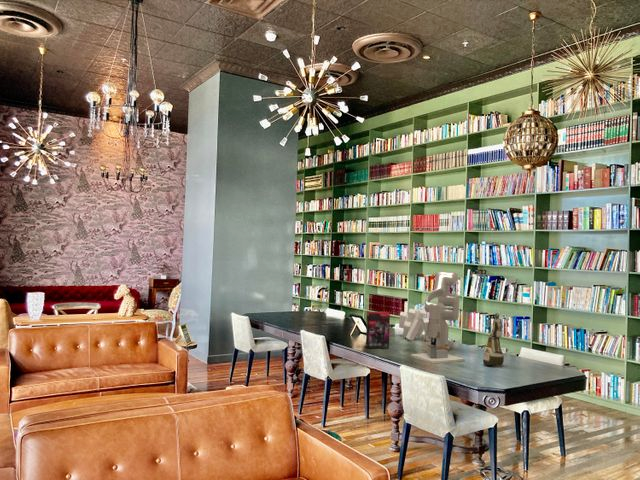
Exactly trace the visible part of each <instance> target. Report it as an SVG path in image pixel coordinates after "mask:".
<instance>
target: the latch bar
mask: <svg viewBox="0 0 640 480" xmlns="http://www.w3.org/2000/svg"><path fill="white" fill-rule="evenodd" d="M449 347H450V346H448V344H445V346H436V349H448V348H449ZM427 348H428V349H430V350H431V347H428V346H427Z"/></svg>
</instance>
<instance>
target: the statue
mask: <svg viewBox="0 0 640 480" xmlns="http://www.w3.org/2000/svg"><path fill="white" fill-rule="evenodd" d="M492 321H493V322H492V325H493V326H492V329H491V332H490V334H489V336H488V338H487V341H486V346H485V348H484V349H483V354H482V362H483V365H484V366H487V367H488V366H492V367H493V366H501V365H503V364H504V359H505V357H504V354H503V351H502V347H501V341H500V338H501V337H502V335H503V333H502V332H503V329H502V328H503V320H502V318H500V314H499V313H498V312H497V313H496V312H495V314H494V319H493V320H492Z"/></svg>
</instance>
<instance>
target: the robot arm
mask: <svg viewBox="0 0 640 480" xmlns="http://www.w3.org/2000/svg"><path fill="white" fill-rule="evenodd" d="M458 278H459V275H458V273H457V272H456V271H443V270H440V271H436V272H435V273H434V285H433V290H431V291H430V292H429V293H428V294H427V296H426V297H425V301H424V306H423V310H425V312H427V313H428V320H429V322H428V325H427V333H426V335H427V336H428V338H430V341H429V342H430V345H434V346H445V344H448V346H449V348H448V351H449V350H450V349H451V347H452V346H453V344H454V343H452V342H450V343H449V327H450V326H449V324H448V322H449V321H453V322H456V321H458V320H459V315H460V311H459V310H460V297H459V296H458V294H454V293H450V290H451V289H450V286H452V287H453V286H455V285H456V284H457V282H458ZM436 298H437V302H434V301H433V299H436ZM447 321H448V322H447Z"/></svg>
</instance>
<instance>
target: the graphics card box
mask: <svg viewBox="0 0 640 480" xmlns="http://www.w3.org/2000/svg"><path fill="white" fill-rule="evenodd" d="M390 316H391V313H390V312H389V311H370V310H369V311H366V328H365V329H366V330H365V334H366V335H365V337H366V338H365V347H366V348H367V349H390V325H391V324H390V320H391V317H390Z"/></svg>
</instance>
